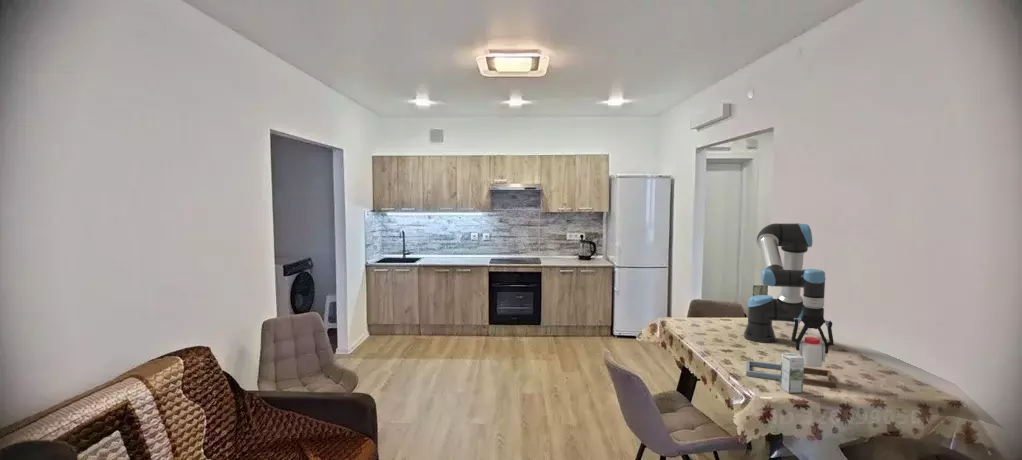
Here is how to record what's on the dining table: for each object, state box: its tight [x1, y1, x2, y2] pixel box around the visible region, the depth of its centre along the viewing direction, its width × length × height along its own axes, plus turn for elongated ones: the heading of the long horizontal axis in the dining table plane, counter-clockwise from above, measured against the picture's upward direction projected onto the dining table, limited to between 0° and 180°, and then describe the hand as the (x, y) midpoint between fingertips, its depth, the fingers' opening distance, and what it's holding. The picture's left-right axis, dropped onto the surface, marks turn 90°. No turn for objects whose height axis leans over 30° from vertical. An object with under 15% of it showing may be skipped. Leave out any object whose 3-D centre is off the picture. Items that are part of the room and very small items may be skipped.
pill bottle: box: [801, 336, 823, 368], centre depth 203 cm, size 8×8×11 cm
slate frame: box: [745, 359, 781, 381], centre depth 211 cm, size 15×15×2 cm
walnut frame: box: [803, 366, 837, 389], centre depth 204 cm, size 15×15×2 cm
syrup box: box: [779, 352, 805, 394], centre depth 191 cm, size 6×6×14 cm
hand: (811, 359), depth 204 cm, fingers closed on pill bottle, 8 cm apart
